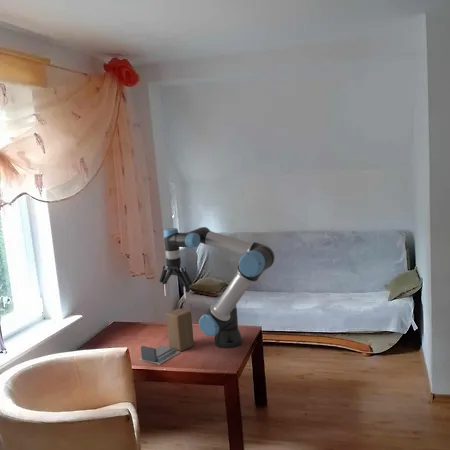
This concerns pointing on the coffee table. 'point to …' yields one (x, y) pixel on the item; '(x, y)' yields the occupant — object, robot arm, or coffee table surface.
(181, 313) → the block
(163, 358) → the grey l-shaped piece
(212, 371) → the coffee table surface
